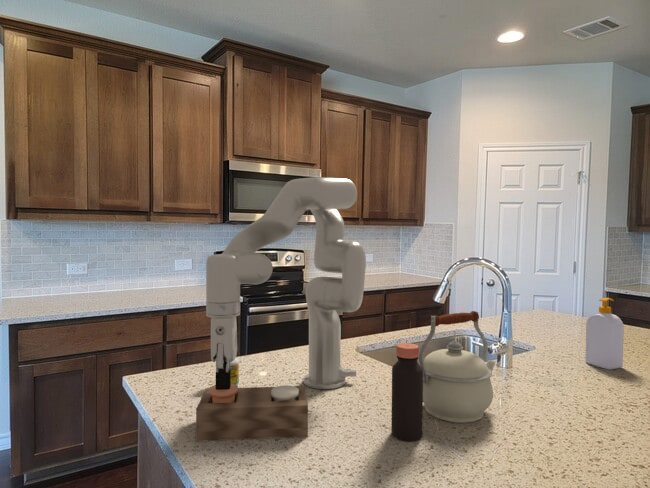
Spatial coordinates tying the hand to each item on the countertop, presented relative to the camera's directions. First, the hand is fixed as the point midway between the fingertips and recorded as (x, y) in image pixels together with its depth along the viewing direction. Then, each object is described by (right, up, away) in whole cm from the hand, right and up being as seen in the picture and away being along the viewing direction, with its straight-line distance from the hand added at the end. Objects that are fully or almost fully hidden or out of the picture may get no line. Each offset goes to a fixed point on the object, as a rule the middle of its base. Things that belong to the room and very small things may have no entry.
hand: (223, 388), depth 100 cm
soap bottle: (+119, -9, +49) cm, 129 cm away
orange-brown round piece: (0, -6, 0) cm, 6 cm away
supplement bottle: (-5, -9, +28) cm, 30 cm away
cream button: (+14, -7, +2) cm, 16 cm away
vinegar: (+42, -10, -3) cm, 43 cm away
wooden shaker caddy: (+7, -9, +1) cm, 12 cm away
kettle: (+57, -9, +11) cm, 59 cm away
